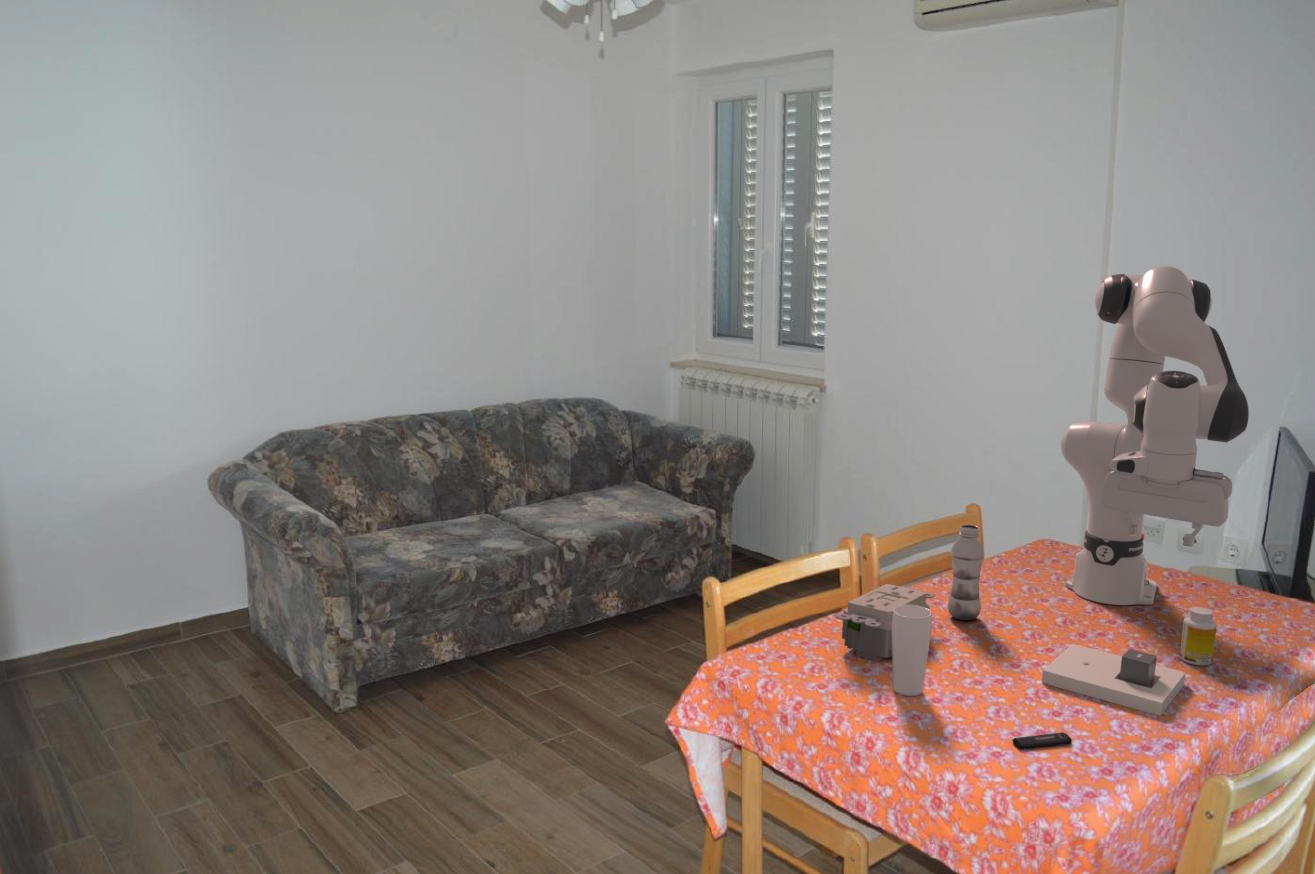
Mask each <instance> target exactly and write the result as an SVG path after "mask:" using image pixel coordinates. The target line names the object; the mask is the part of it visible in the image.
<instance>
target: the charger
mask: <svg viewBox="0 0 1315 874" xmlns="http://www.w3.org/2000/svg"><path fill="white" fill-rule="evenodd" d="M1121 656H1122V661H1121V671H1120V680H1122V681H1126V682H1130V683H1133V684H1137V685H1141V686H1145V687H1148V688H1152V687H1153V686H1154V677H1155V668H1156V665H1157V659H1158V658H1157V657H1158V655H1156V654H1152V653H1148V652H1143V651H1140V650H1135V649H1131V648H1129V649H1127V651H1126V652H1125V653H1124V654H1123V655H1121Z"/></svg>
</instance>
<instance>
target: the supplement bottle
mask: <svg viewBox="0 0 1315 874" xmlns="http://www.w3.org/2000/svg"><path fill="white" fill-rule="evenodd" d="M1213 619H1214V612H1213V610H1211V609H1209V608H1207V607H1200V606H1193V607H1192V606H1191V607H1190V608H1189V611H1188V616H1186V617H1184V619H1183V624H1182V633H1181V642H1180V648H1179V649H1180V651H1179V658H1180V659H1181V660H1182V662H1184V663H1187V664H1190V665H1193V666H1200V667H1203V666H1209V665H1211V664H1212V663H1213V659H1214V651H1215V643H1216V642H1215V641H1216V633H1217V626H1218V625H1217V623H1216V622H1215V620H1213Z"/></svg>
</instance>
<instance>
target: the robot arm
mask: <svg viewBox="0 0 1315 874" xmlns="http://www.w3.org/2000/svg"><path fill="white" fill-rule="evenodd" d="M1094 301H1095V302H1094V303H1095V308H1096V309H1095V310H1096V312H1097V313H1096V315H1097V316H1098V317H1099V318H1100V320H1101V321H1103V322H1105V323H1109V324H1113V325H1116V324H1117V327H1116V330H1115V333H1114V336H1113V339H1112V341H1111V342H1112V343H1111V346H1110V351H1109V356H1108V362H1107V364H1108V365H1107V369H1106V376H1105V383H1104V389H1103V390H1104V395H1105V397H1106V399H1107V400H1108V401H1109V402H1110V403H1111V404H1113V405H1114V406H1115V407H1117V408H1119V409H1121V410H1122V411H1124V412H1125V415H1126V416H1127V424H1120V423H1119V424H1118V423H1113V422H1112V423H1111V422H1102V421H1082V422H1081V421H1080V422H1074V423H1072V424H1071V425H1070V426H1069V427H1068V428H1067V429H1066V430H1065V431H1064V433H1063V435H1062V437H1061V441H1060V442H1061V443H1060V448H1061V453H1062V456H1063V458H1064V459H1065V461H1066V462H1067V463H1068V464H1069V465H1070V467H1072V468H1073V469H1074V470H1075V471H1076V473H1077V474H1078V475H1079V477H1080V478H1081V480H1082V482H1083V484H1084V487H1085V490H1086V492H1087V500H1088V518H1087V519H1088V520H1087V529H1086V530H1085V532H1084V536H1083V547H1084V548H1083V549H1082V550H1080V551H1079V552H1077V553H1076V555H1075V562H1074V567H1073V568H1074V569H1073V574H1072V575H1073V576H1072V578H1071V579H1068V580H1065V584H1064V586H1065V587H1066V588H1068V589H1070V590H1072V591H1074V593H1076V595H1078V596H1079V597H1082V598H1083V599H1087V600H1089V601H1092V602H1096V603H1100V604H1107V605H1116V606H1131V605H1147V606H1148V605H1153V604H1154V601H1155V597H1156V592H1157V587H1158V585H1157V581H1155V580H1153V579H1150V578H1148V570H1149V569H1148V567H1149V562H1148V561H1147V559H1146V558H1145V556H1144V554H1143V552H1144V540H1145V533H1144V532H1142V531H1143V522H1144V515H1146V516H1151V517H1156V518H1157V517H1158V518H1164V519H1169V520H1173V521H1180V522H1187V523H1192V524H1191V529H1193V531H1192V532H1191V533H1190V534H1189V533H1186V534H1185V535H1183V539H1182V540H1183V542H1182V546H1185V547H1191V548H1193V547H1194V546H1195V543H1196V542H1195V539H1196V536H1197V535H1198V534H1199V533H1200V531H1201V530H1202V529H1203V528H1204V526H1209V527H1217V528H1218V527H1221V526H1223V524H1226V522H1227V521H1228V517H1229V498H1230V496H1231V494H1232V492H1233V491H1232V490H1233V482H1232V480H1231V479H1230V477H1228V476H1227V475H1225V474H1224V473H1223V472H1220V471H1209V470H1205V469H1200V468H1199V469H1197V468H1196V465H1197V452H1198V446H1197V442H1196V441H1197V440H1196V439H1198V440H1199V439H1200V440H1207V441H1213V442H1219V443H1228V442H1230V441H1232V440H1234V439H1236V438H1237V437H1239V436H1240V435H1241V434H1244V432H1245V431H1246V430H1247V428H1248V423H1249V419H1250V407H1249V403H1248V400H1247V397H1246V395H1245V392H1244V391H1243V389H1242V388H1241V386H1240V385H1239V383H1238V379H1237V377H1236V375H1235V372H1234V369H1233V366H1232V364H1231V360H1230V359H1229V356H1228V355H1229V354H1228V353H1227V351H1226V348H1225V345H1224V342H1223V340H1222V338H1221V336H1220V334H1219V333H1218V331H1217V329H1215V328H1214V327H1212V326H1211V325H1208V324H1207V323H1206V320H1207V318H1208V317H1209V314H1210V312H1211V310H1212V301H1213V300H1212V296H1211V289H1210V288H1209V286H1208V285H1207V284H1206V282H1205V283H1204V282H1202V281H1199V280H1196V279H1192V278H1190V279H1188V277H1187V275H1186V274H1185V273H1184V272H1183V271H1181V270H1180V269H1179V268H1177V267H1173V266H1171V265H1170V266H1169V265H1162V266H1161V265H1160V266H1155V267H1153V268H1151V269H1149V270H1147V271H1146V272H1145V273H1144V274H1138V275H1137V274H1136V275H1134V274H1132V275H1131V274H1130V275H1126V274H1125V273H1119V274H1117V273H1116V274H1111V275H1108V276H1107V277H1105V278H1104V279H1103V280H1102V282H1101V284H1100V286H1098V289H1097V291H1096V294H1095V299H1094ZM1166 357H1168V358H1172V359H1175V360H1180V361H1184V362H1187V363H1189V364H1192V365H1194V366H1196V367H1198V368H1199V369H1200V370H1201V371H1202V374H1203V377H1204V379H1205V383H1206V385H1201V382H1200V379H1199V378H1198V377H1197V376H1196V375H1194V374H1192V373H1189V372H1186V371H1179V370H1165V371H1164V367H1165V359H1166Z"/></svg>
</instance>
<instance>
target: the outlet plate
mask: <svg viewBox="0 0 1315 874" xmlns="http://www.w3.org/2000/svg"><path fill="white" fill-rule="evenodd" d="M1122 656H1123V655H1119V654H1115V653H1111V652H1106V651H1102V650H1098V649H1095V648H1090V647H1087V646H1083V645H1078V644H1076V643H1071V644H1070V646H1068V647H1067V648H1065V650H1064V651H1063V652H1061V653H1060V654H1059V655H1058V656H1057V657H1056V658H1055V659H1054V660H1052V661H1051V662H1050V663H1049V664H1048V665H1047V666H1046V667H1045V668H1044V669H1042V677H1041V683H1042V684H1045V685H1049V686H1052V687H1056V688H1059V689H1060V688H1061V689H1063V690H1065V691H1070V692H1074V693H1077V694H1081V695H1084V696H1087V697H1091V698H1095V699H1098V700H1101V701H1106V702H1109V703H1113V704H1117V705H1120V706H1124V707H1126V708H1130V709H1134V710H1137V711H1141V712H1144V713H1147V714H1148V713H1149V714H1151V715H1155V716H1159V717H1161V716H1162V715H1163V713H1165V710H1167V708H1168V707H1169V706H1170V704H1171V703H1172V702H1173V701H1174V699H1175V698H1176V696H1177V695H1178V694H1179V692H1180V691H1181V690H1182V688H1183V687H1184V686H1185V683H1186V682H1185V681H1186V674H1187V673H1186V672H1185V671H1181V670H1178V669H1173V668H1170V667H1165V666H1161V665H1158V664H1156V668H1155V677H1154V686H1153V687H1152V688H1148V687H1145V686H1141V685H1137V684H1133V683H1130V682H1126V681H1122V680H1120V671H1121V661H1122Z"/></svg>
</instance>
